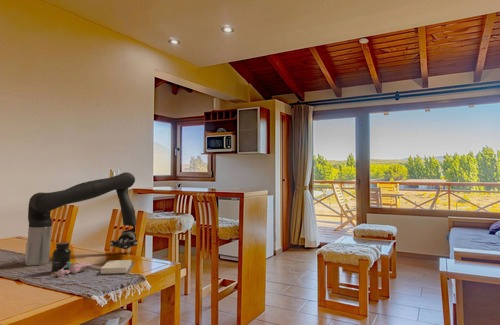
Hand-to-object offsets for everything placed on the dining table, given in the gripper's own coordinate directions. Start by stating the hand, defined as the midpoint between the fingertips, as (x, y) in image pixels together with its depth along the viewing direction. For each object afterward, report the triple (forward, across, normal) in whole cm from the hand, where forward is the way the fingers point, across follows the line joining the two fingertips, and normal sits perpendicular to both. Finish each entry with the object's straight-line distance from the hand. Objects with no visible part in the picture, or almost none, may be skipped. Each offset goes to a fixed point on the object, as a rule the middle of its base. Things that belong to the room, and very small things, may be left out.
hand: (120, 246), depth 145 cm
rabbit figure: (+10, -17, +10) cm, 22 cm away
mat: (+4, 0, +10) cm, 11 cm away
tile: (-1, 0, +8) cm, 8 cm away
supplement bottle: (+4, -23, +10) cm, 26 cm away
